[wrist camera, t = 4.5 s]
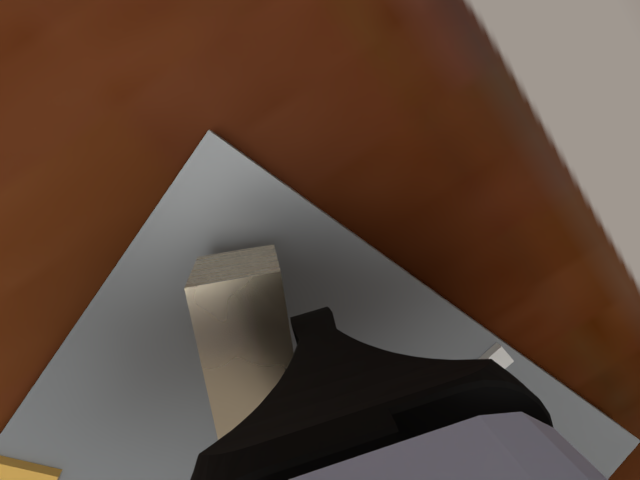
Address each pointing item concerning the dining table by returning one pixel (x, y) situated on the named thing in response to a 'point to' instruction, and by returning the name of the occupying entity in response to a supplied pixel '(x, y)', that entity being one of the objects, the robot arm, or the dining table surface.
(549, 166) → the dining table surface
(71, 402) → the lock plate
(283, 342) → the door lever handle
